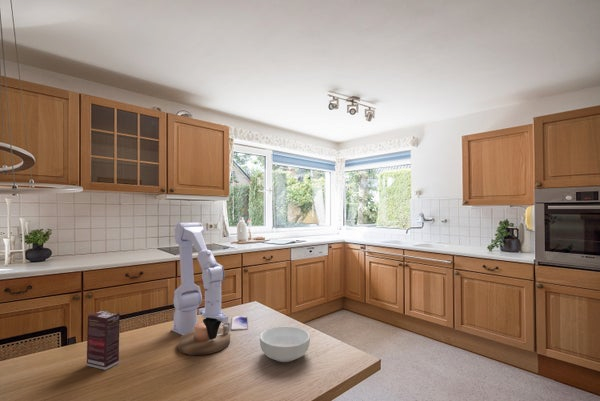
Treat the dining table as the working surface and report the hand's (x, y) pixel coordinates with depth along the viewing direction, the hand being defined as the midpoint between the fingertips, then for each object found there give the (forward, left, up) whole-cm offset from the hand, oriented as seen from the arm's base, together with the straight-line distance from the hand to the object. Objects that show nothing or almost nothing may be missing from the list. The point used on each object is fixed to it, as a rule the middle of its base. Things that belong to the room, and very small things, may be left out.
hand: (212, 338), depth 104 cm
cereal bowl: (+25, +11, -3) cm, 27 cm away
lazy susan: (-4, 0, -3) cm, 6 cm away
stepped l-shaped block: (-7, +12, -3) cm, 14 cm away
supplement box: (-18, -28, -3) cm, 34 cm away
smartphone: (-9, +21, -4) cm, 23 cm away
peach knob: (-5, 0, -1) cm, 5 cm away
